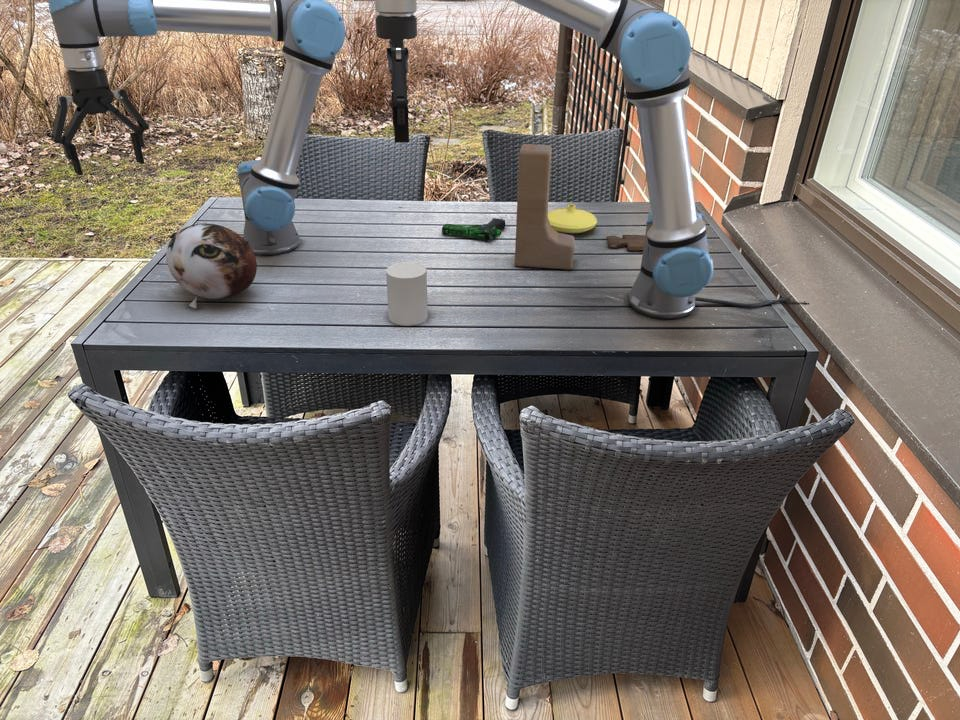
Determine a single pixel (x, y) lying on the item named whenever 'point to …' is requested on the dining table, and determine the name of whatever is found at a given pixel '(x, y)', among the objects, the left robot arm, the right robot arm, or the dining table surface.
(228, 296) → the cat face balloon
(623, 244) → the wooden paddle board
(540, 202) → the decorative block
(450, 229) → the handgun
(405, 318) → the canister
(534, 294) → the dining table surface
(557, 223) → the yellow pot lid
